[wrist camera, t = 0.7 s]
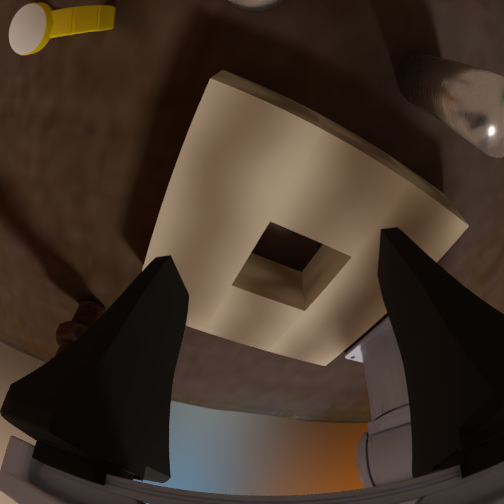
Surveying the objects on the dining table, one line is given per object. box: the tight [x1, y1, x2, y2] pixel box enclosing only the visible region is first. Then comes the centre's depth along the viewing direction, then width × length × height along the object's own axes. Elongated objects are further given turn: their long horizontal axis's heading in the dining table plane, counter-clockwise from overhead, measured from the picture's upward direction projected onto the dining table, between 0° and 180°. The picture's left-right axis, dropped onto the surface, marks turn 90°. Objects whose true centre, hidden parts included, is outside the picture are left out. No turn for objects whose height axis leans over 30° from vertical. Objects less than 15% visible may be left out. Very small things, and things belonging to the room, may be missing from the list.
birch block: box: [142, 70, 469, 366], centre depth 21 cm, size 17×17×4 cm
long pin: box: [397, 53, 504, 158], centre depth 11 cm, size 4×4×8 cm
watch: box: [9, 2, 116, 55], centre depth 11 cm, size 6×3×6 cm, turn 82°
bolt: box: [55, 301, 106, 356], centre depth 24 cm, size 6×5×15 cm
